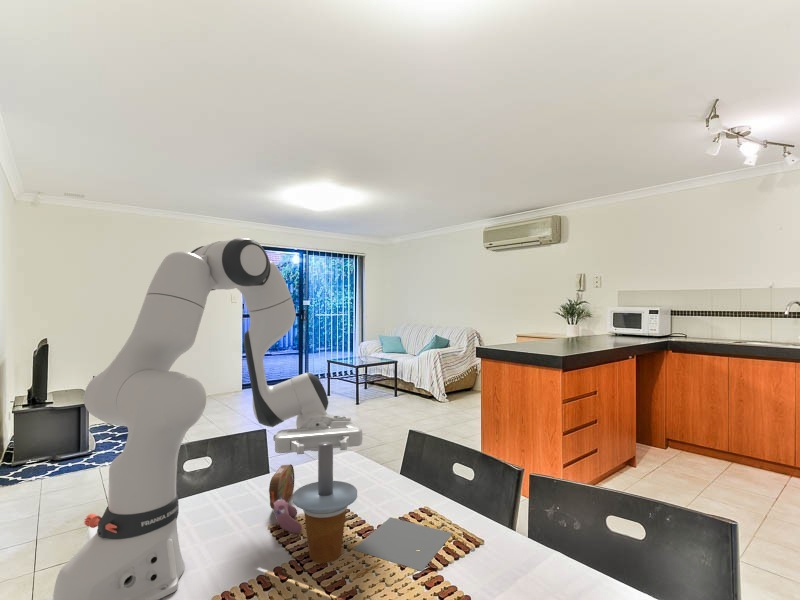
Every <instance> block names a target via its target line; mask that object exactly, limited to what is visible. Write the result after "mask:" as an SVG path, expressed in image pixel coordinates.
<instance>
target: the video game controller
mask: <svg viewBox="0 0 800 600" xmlns="http://www.w3.org/2000/svg"><path fill="white" fill-rule="evenodd" d="M273 504H274V509H272V512H273V513H274V515H275V518H276V522H277V523H278V524H279V526H280V528H281V529H283V531H287V532H289V533H291V534H295V533H297V534H300V533H301V532H302V530H303V527H302V524H301V523H300V522H299V521H297V520H296V519H295V518H294V517H296V516H297V515H298V510H297V508H296V507H295V506H293V505H291V504H290V503H288V502H286V501H285V500H283V499H282V498H281V500H277V501H276V502H274V503H273Z"/></svg>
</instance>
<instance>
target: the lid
mask: <svg viewBox="0 0 800 600" xmlns="http://www.w3.org/2000/svg"><path fill="white" fill-rule="evenodd" d="M317 455H318V458H317V463H318V464H317V466H318V467H317V470H318V471H317V481H315V482H311V483H308V484H307V483H306V484H304V485H303V486H301V487H298V488H297V489H296V490H295V491H293V494H292V502H293V504H294V506H296V507H297V508H299V509H301V510H303V509H304V510H308V511H317V512H322V511H332V510H337V509H341V508H344V507H346V506H347V507H348V506H350V505H351V504H353V503H355V501H356V500H357V499H358V489H357V487H356V486H354V485H353V484H351V483H348V482H344V481H341V480H334V448H333V443H332V442H321V443H319V444H318V451H317Z"/></svg>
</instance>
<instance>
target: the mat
mask: <svg viewBox="0 0 800 600" xmlns="http://www.w3.org/2000/svg"><path fill="white" fill-rule="evenodd" d="M453 534H454V533H453V532H449V531H447V530H442V529H437V528H434V527H431V526H426V525H422V524H418V523H414V522H411V521H407V520H403V519H398V518H395V517H389V518H388V519H387V520H385V521H384V522H383V523H382V524H381V525H379V526H378V527H377V528H376V529H375V530H374V531H373V532H371V533H370V534H369V535H368V536H367V537H365V538H364V539H363V540H362V541H361V542H359V543H358V544H357V545H355V547H353V549H352V551H356V552H359V553H362V554H365V555H369V556H372V557H375V558H377V559H381V560H385V561H387V562H392V563H394V564H398V565H401V566H404V567H407V568H411V569H413V570H416V571H420V572H423V571H424V570H425V568H426V567H428V566H429V563H430V562H431V561H432V560H433V559H434V557H435V556H436V555H437V553H438V552H439V551H440V550H441V549H442V548H443V546H444V545H445V543H447V542H448V540H449V539H450V537H451V536H452V535H453ZM416 550H420V551H416Z"/></svg>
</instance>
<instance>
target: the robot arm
mask: <svg viewBox="0 0 800 600" xmlns="http://www.w3.org/2000/svg"><path fill="white" fill-rule="evenodd" d="M154 273H155V274H154V275H153V277H152V280H151V282H150V284H149V286H148V289H147V292H146V294H145V297H144V300H143V303H142V306H141V309H140V311H139V314H138V317H137V319H136V321H135V324H134V327H133V329H132V331H131V333H130V335H129V337H128V339H127V340H126V342H125V343H124V345H123V346H122V347H121V350H120V351H119V352H118V353H117V355H116V356H115V358H114V359H113V360H112V362H111V363H110V364H109V365H108V366H107V367H106V368H105V369H104V370H103V371H101V372H100V373H98V374H97V375H95V376H94V377H92V379H91V380H90V381H89V382H88V385H87V386H86V388H85V391H84V395H83V403H84V406H85V409H86V410H87V412H88V413H89V414H90V415H92V416H93V417H94V418H97V419H98V420H100V421H102V422H104V423H105V424H109V425H113V426H120V427H127V438H126V442H125V444H124V445H125V446H124V448H123V450H122V452H121V453H120V454H118V455H117V456H116V457H115V458H114V459H113V460H112V461H111V463H110V466H109V469H108V501H107V502H108V505H107V507H106V509H105V510H104V513H103V515H102V516H100V515H97V514H96V513H89V514H88V515H87V516H86V517H85V518H84V521H83V524H84V525H85V526H86V527H90V528H92V529H95V528H97V530H96V533H95V534H94V535H93V536H92V537H91V538H90V539H89V540H88V541H87V542H86V543H85V544H84V545H83V546H82V547H81V548H80V549H79V550H78V551H77V552H76V553H75V554H74V555H73V556H72V557H71V558H70V559H69V560H68V561H67V562H66V563H65V564H64V565H63V566H62V567H61V569H59V572H58V574H57V576H56V579H55V583H54V589H53V594H51V595H50V596H48V597H47V598H45V599H44V600H160V599H162V598H164V597H166V596H168V595H171V594H172V593H174V592H176V591H177V590H178V588H179V579H180V578H181V576H182V575H183V573H184V571H185V566H186V565H185V562H184V559H183V556H182V552H181V548H180V541H179V534H178V524H177V519H178V516H179V509H180V508H179V494H178V493H177V476H178V475H177V473H178V459H179V457H178V456H179V453H180V449H181V445H182V443H183V440H184V438H185V436H186V434H187V433H188V431H189V429H190V428H192V427H193V426H195V424H197V423H198V421H199V420H200V419H201V417H202V415H203V414H204V412H205V409H206V405H207V393H206V389H205V387H204V385H203V383H202V382H200V381H199V380H198V379H197V378H194V377H192V376H189V375H186V374H184V373H181V372H178V371H172V370H170V369H171V368H172V366H173V365H174V364H175V362H176V361H177V360H178V359H179V357H181V356H182V355H183V354H184V353H186V352H188V351H189V350H190V349H191V348H192V347H193V345H194V344H195V342H196V338H197V336H198V332H199V328H200V325H201V321H202V317H203V314H204V312H205V308H206V304H207V301H208V296H209V294H210V292H212V291H215V290H234V289H236V290H238V291H239V292H240V294H242V297H243V299H244V303H245V306H246V309H247V312H248V315H249V326H248V329H247V330H246V331H245V332H244V335H243V344H244V345H243V346H244V347H243V348H244V354H245V359H246V366H247V369H248V370H247V371H248V376H249V381H250V382H249V383H250V386H251V392H252V393H251V394H252V411H253V414H254V417H255V419H256V421H257V422H258V423H259V424H260V425H263V426H265V427H269V428H274V427H276V426H277V425H278V426H279V425H280V424H282V423H284V422H285V421H287V420H289V419H291V418H295V417H296V422H295V423H296V425H295V427H296V428H287V429H281V430H279V431H277V433H276V434H274V435H273V437H272V438H273V442H274V451H275V453H277V454H287V453H295V454H296V455H304V454H305V452H308V451H310V452H318V444H319V443H321V442H332V443H333V449H339V450H340V451H347V450H348V448H351V447H359V446H361V445H362V444H363V429H362V428H361V427H360V426H359V425H358V424H357V423H355V422H354V421H352V419H351V417H350V416H345V415H341V416H340V415H333V414H332V415H331V414H328V412H327V409H328V407H329V399H328V398H329V397H328V395H327V392H326V390H325V387H324V385H323V383H322V382H321V381H320V379H319V378H318V376H316V375H315V374H313V373H311V372H305V373H302V374H301V373H300V374H299V375H296V376H294V377H291V378H289V379H287V380H284V381H282V382H279V383H276V384H274V385H268V382H267V377H266V371H265V365H264V357H265V355H266V353H267V352H268V350H269V349H270V348H271V347H273V345H275V344H276V343H277V342H279V341H280V340H281V339H282V338H283V337H284V336H285V335H286V334H287V333H289V331H290V330H291V328H292V327H293V325H294V324H295V321H296V316H297V314H296V308H295V304H294V301H293V297H292V295H291V292H290V289H289V287H288V284H287V283H286V280H285V278H284V276H283V275H282V272H281V271H280V269H279V268H278V266H277V264H276V263H275V262H273V261H272V260H270V259H269V256H268V253H267V252H266V250H265V249H264V247H263V246H262V245H261V244H260V243H259V242H258V241H256V240H254V239H251V238H245V237H242V238H234V239H228V240H220V241H214V242H212V243H208V244H207V245H202V246H199V247H196V248H195V249H193V250H192V251H190V252H189V251H174V252H171V253H169V254H167V255H166V256H165V257H164V259H162V262H161V263H160V264H159V267H158V268H157V270H156V271H155V272H154Z"/></svg>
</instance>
